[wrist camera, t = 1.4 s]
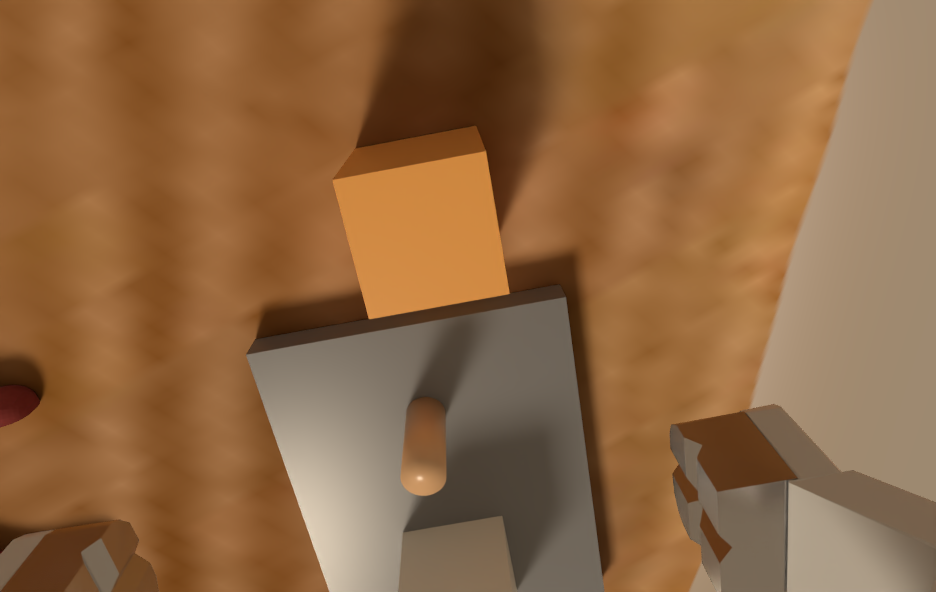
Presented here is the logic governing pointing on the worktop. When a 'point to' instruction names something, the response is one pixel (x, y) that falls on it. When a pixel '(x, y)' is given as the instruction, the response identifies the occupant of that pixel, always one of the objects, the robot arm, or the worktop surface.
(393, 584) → the plate
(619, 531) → the worktop surface
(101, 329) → the worktop surface
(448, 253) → the orange matte cube
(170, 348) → the worktop surface
